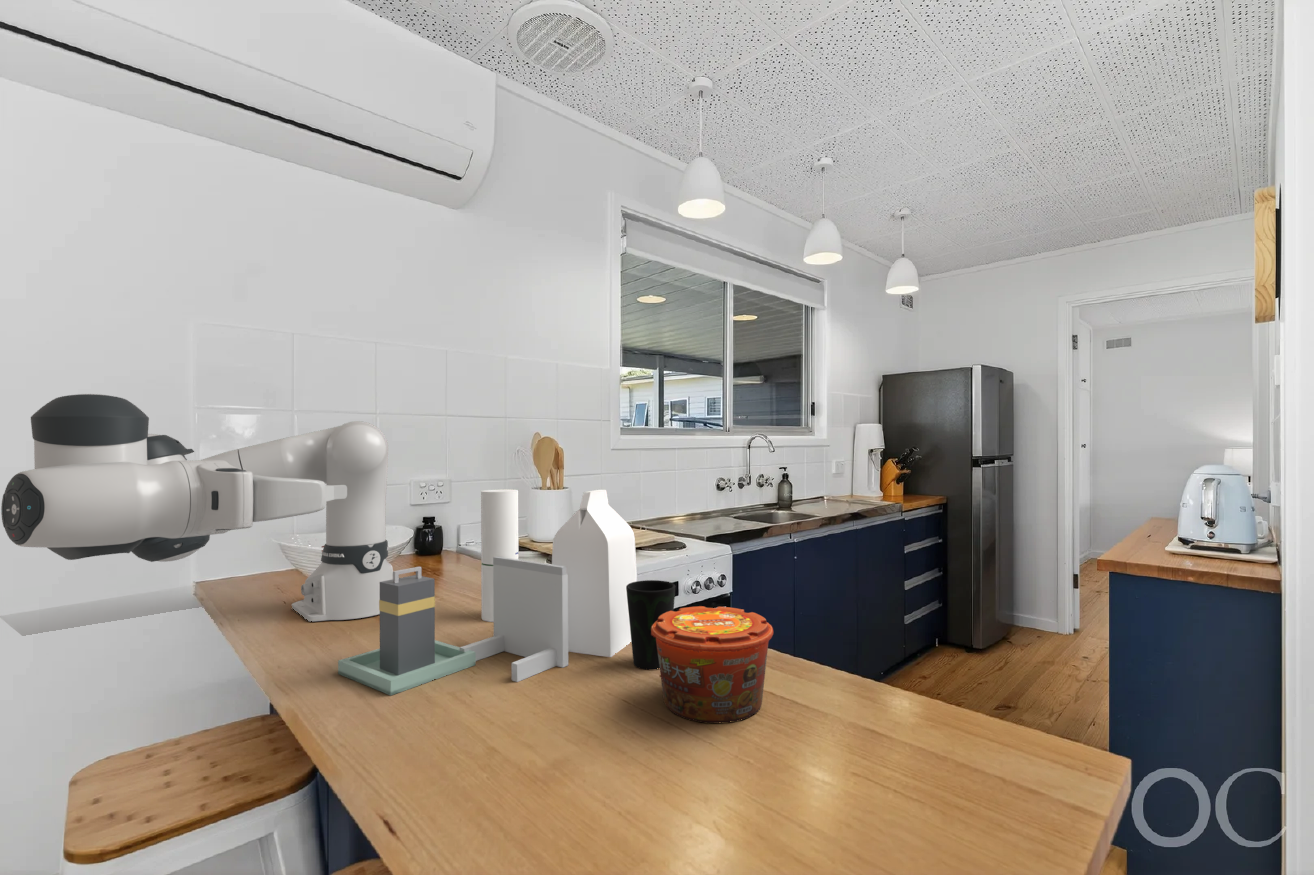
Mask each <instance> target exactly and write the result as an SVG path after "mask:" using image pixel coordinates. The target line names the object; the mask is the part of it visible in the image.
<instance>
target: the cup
mask: <svg viewBox="0 0 1314 875" xmlns="http://www.w3.org/2000/svg"><path fill="white" fill-rule="evenodd" d="M626 591H627V601H628V612H629V622H630V632H631V651H632V661H633V663H632V664H633V665H634V667H636V668H638V669H641V670H646V669H647V670H648V671H650V670H649V669H656V670H658V669H657V668H660V666H659V658H658V651H657V643H656V637H653V636H652V635H651V627H652V625H653V624H654V623H655V622H656V621H657V620H658V618H659V616H660V615H662V614H664V613H666V612H669V611H674V610H675V608H674V607H675V599H676V598H675V597H676V585H675V583H673V582H670V581H667V580H658V579H654V580H653V579H649V580H648V579H646V580H637V581H636V582H632V583H629V584H628V585H627V586H626ZM674 612H675V611H674Z"/></svg>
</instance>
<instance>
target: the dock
mask: <svg viewBox="0 0 1314 875" xmlns="http://www.w3.org/2000/svg"><path fill="white" fill-rule="evenodd" d="M493 616H494V622H493V636H490V637H487V638H485V639H482V640H479V641H475V642H472V643H468V644H466V645H463V646H462V645H461V646H460V651H462V652H466V651H469V650H470V651H474V652H476V662H477V661H480V660H482V659H486V658H489V657H491V656H494V655H496V654H500V653H502V652H506V653H509V654H513V655H517V656H520V657H522V658H521V659H518V660H516V661H513V662H511V681H513V682H516V683H519V682H520V681H524V680H526V679H528V678H531V677H533V676H536V675H538V674H539V673H543V672H544V671H547V670H550V669H552V668H554V667H559V668H565V667H568V666H569V652H568V574H566V567H564V566H558V565H552V563H544V562H543V563H542V562H537V561H530V560H524V559H519V558H518V559H511V558H504V557H498V556H497V557H493ZM523 657H524V658H523Z"/></svg>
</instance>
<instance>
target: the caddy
mask: <svg viewBox="0 0 1314 875" xmlns="http://www.w3.org/2000/svg"><path fill="white" fill-rule="evenodd" d="M414 572H415V574H413V575H407V576H404V577H400V576H399V575H403V574H409V573H414ZM422 573H423V572H422V566H416V567H410V568H404V569H398V570H393V579H392V580H387V581H382V582H380V600H379V611H380V614H379V649H380V669H382V670H384V671H387V672H390V673H392V674H395V675H401V674H404V673H407V672H410V671H413V670H416V669H419V668H422V667H425V666H428V665H431V664H434V663H435V640H436V637H435V636H436V634H435V633H436V629H435V627H436V626H435V624H436V623H435V622H436V621H435V620H436V616H435V614H436V613H435V612H436V596H435V595H436V594H435V587H436V586H435V584H436V583H435V578H433V577H427V576H423V575H422Z"/></svg>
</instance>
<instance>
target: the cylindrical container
mask: <svg viewBox="0 0 1314 875" xmlns="http://www.w3.org/2000/svg"><path fill="white" fill-rule="evenodd" d="M480 521H481V522H480V528H481V529H480V530H481V532H480V536H481V538H480V539H481V540H480V541H481V542H480V546H481V547H480V548H481V549H480V550H481V551H480V553H481V554H480V555H481V556H480V558H481V561H480V562H481V563H480V564H481V566H480V568H481V570H480V571H481V575H480V576H481V577H480V578H481V581H480V582H481V591H480V592H481V619H482V621H485V622H489V623H490V622H491V623H494V616H493V557H497V556H498V557H504V558H511V559H518V560H519V490H518V489H514V488H513V489H510V488H509V489H508V488H507V489H504V488H503V489H499V488H498V489H485V490H480Z"/></svg>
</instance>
